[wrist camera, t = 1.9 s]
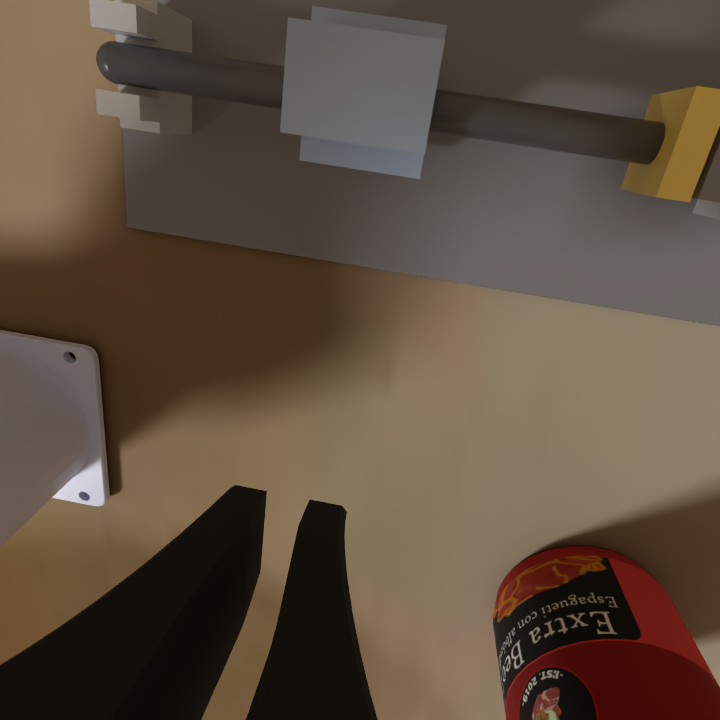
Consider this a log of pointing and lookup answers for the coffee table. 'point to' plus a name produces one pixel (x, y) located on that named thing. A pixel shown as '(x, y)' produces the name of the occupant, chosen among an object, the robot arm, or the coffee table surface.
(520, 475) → the coffee table surface
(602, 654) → the canned food
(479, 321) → the coffee table surface
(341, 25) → the sleeve
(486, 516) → the coffee table surface
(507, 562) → the coffee table surface
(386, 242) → the linear slide rail
